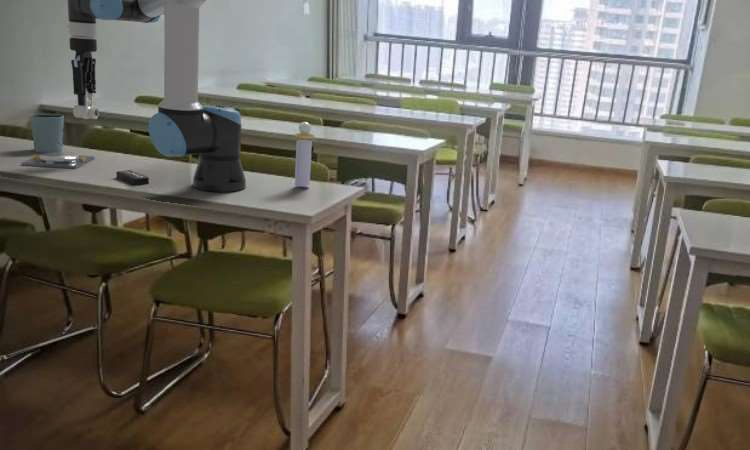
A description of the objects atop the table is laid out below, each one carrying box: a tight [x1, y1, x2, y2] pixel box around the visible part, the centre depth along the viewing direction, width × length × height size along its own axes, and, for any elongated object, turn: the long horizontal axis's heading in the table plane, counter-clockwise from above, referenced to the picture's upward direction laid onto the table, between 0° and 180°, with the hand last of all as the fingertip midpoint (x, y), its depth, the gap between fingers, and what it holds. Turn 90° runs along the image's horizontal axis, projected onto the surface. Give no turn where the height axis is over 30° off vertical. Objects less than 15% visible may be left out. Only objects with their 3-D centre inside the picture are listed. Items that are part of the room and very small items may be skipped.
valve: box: [72, 79, 100, 120], centre depth 202 cm, size 7×7×12 cm
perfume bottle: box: [294, 121, 315, 188], centre depth 196 cm, size 6×6×20 cm
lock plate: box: [21, 151, 95, 170], centre depth 206 cm, size 16×16×2 cm
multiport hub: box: [115, 169, 150, 186], centre depth 190 cm, size 4×11×2 cm, turn 48°
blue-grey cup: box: [29, 112, 65, 154], centre depth 220 cm, size 10×10×12 cm
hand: (85, 115), depth 204 cm, fingers closed on valve, 4 cm apart
